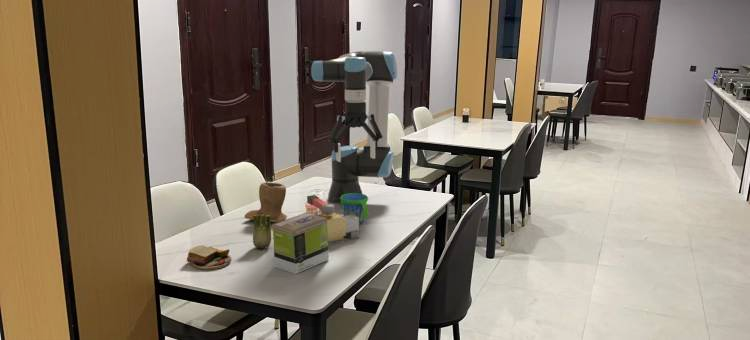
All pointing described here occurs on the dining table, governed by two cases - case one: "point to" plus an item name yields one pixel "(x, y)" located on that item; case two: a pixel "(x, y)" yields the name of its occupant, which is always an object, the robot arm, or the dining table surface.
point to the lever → (320, 204)
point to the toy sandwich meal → (208, 257)
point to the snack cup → (355, 205)
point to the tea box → (300, 242)
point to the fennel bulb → (261, 232)
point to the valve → (341, 227)
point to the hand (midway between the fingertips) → (355, 159)
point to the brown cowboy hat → (270, 202)
